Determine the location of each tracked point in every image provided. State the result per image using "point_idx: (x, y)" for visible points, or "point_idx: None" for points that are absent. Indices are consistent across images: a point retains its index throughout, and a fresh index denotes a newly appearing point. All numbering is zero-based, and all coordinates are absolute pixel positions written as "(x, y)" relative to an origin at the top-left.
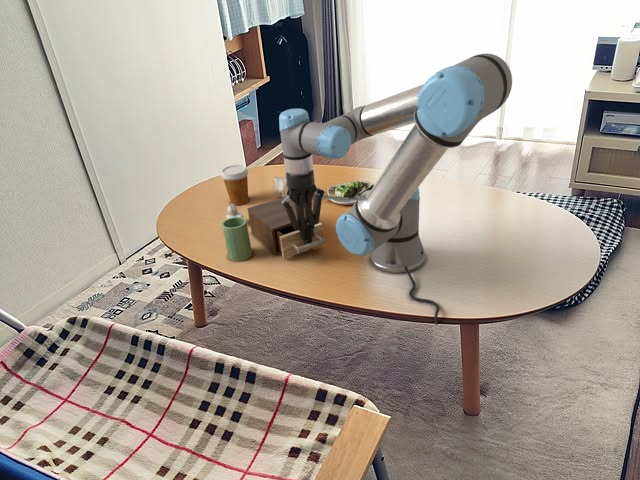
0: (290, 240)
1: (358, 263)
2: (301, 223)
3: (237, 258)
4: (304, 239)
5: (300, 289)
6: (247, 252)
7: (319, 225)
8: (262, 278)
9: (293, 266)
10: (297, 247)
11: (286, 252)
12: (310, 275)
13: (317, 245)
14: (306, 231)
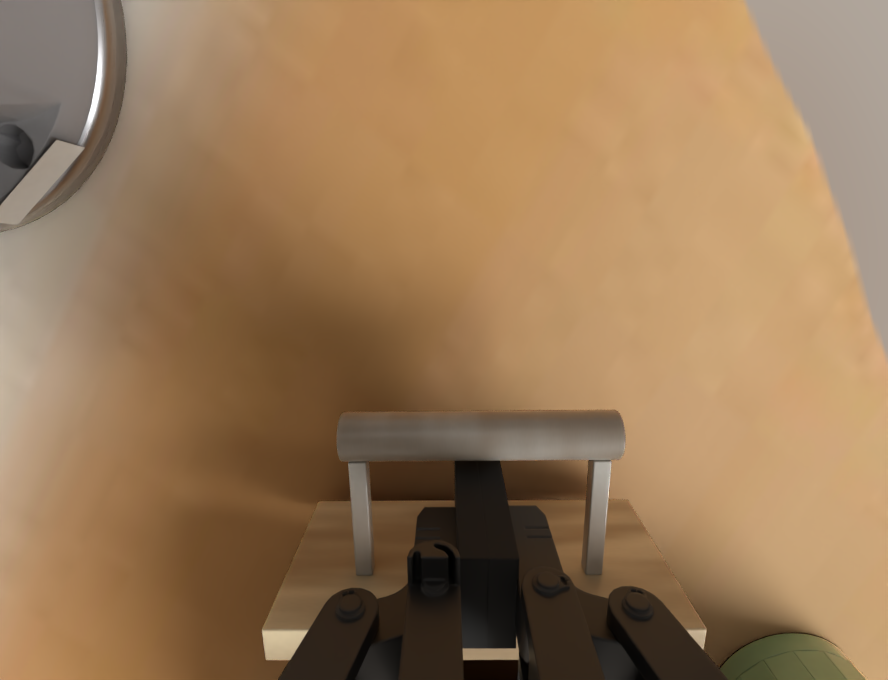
0: (598, 586)
1: (214, 163)
2: (593, 657)
3: (846, 659)
4: (522, 509)
5: (738, 106)
6: (794, 673)
7: (294, 625)
8: (843, 395)
9: (607, 404)
10: (600, 469)
11: (618, 523)
12: (579, 233)
13: (432, 411)
14: (513, 551)
